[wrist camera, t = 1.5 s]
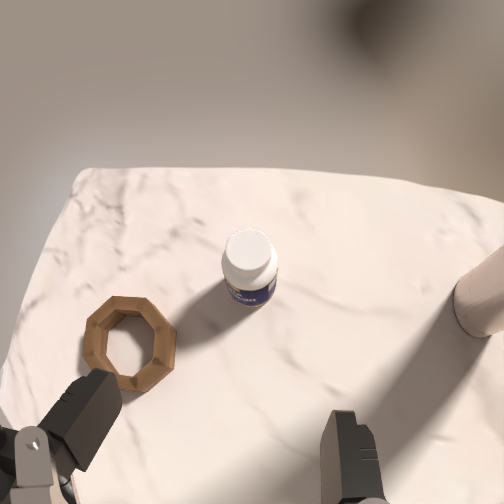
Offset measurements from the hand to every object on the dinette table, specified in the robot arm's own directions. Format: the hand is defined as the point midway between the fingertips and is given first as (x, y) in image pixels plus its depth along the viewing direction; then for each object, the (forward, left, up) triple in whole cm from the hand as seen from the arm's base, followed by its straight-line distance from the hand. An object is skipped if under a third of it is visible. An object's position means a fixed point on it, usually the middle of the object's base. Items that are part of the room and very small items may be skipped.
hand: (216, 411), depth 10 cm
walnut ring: (+6, -13, -22) cm, 26 cm away
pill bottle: (-9, -9, -22) cm, 26 cm away
